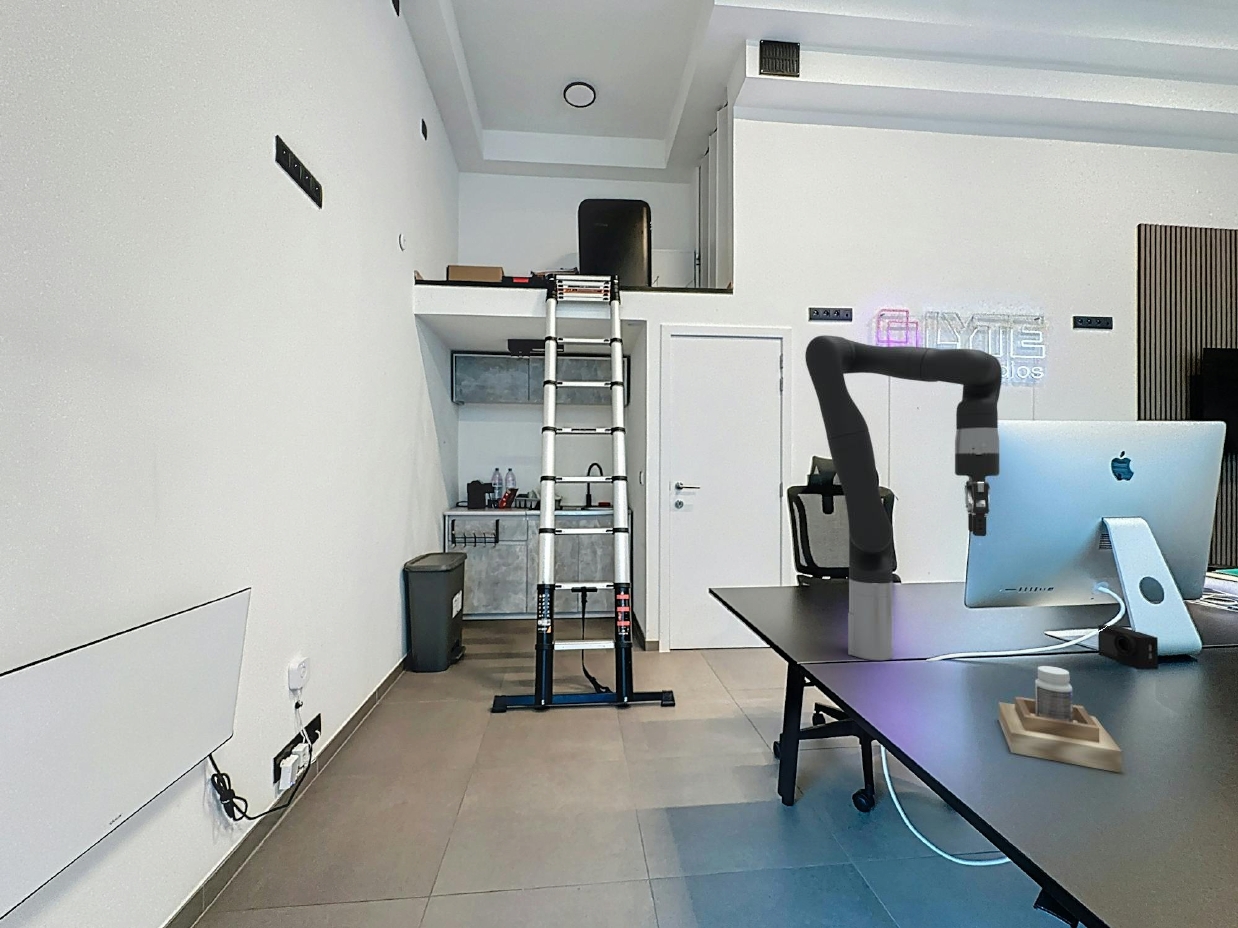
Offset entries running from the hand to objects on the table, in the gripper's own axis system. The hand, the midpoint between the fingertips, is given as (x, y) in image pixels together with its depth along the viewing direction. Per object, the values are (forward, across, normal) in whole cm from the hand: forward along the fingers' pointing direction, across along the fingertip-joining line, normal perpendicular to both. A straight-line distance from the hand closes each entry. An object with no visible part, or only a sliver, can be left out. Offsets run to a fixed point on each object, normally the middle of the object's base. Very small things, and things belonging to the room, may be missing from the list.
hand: (976, 533), depth 115 cm
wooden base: (+30, +23, +8) cm, 39 cm away
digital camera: (+30, -33, +31) cm, 55 cm away
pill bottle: (+27, +23, +8) cm, 37 cm away
